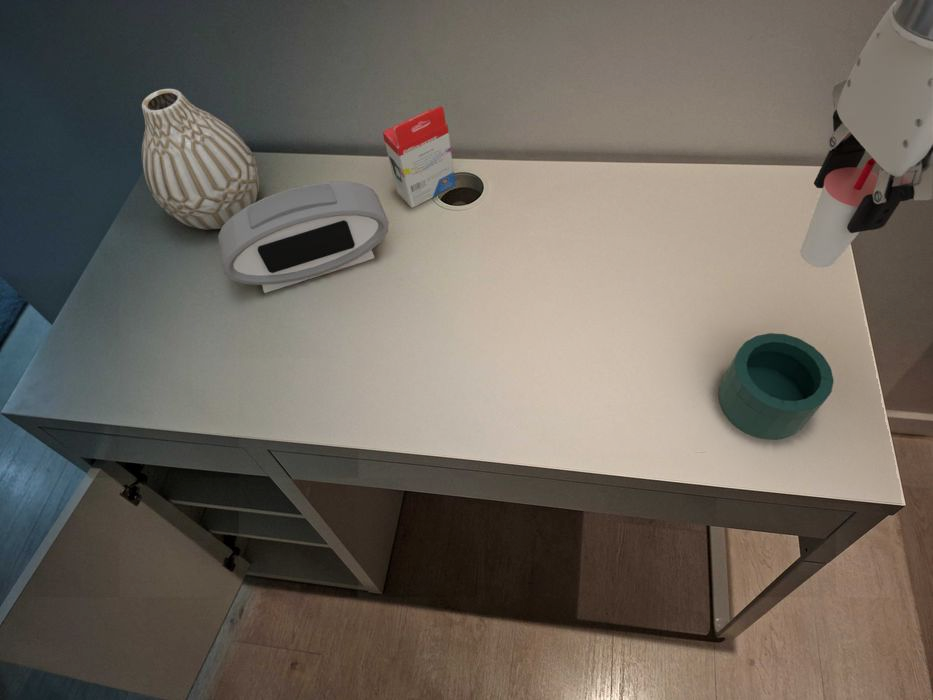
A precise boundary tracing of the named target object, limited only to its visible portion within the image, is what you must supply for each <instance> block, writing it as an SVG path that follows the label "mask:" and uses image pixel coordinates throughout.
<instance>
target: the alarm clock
mask: <svg viewBox="0 0 933 700" xmlns="http://www.w3.org/2000/svg"><path fill="white" fill-rule="evenodd" d="M388 232H389V220H388V218H387V215H386V213H385V210H384V208H383V204H382V203H381V200H380V198H379V195H378V194H377V193H376V191H375V190H374V189H373V188H371V187H369V186H367V185H366V184H363V183H359V182H353V181H326V182H318V183H311V184H310V183H309V184H306V185H301V186H297V187H293V188H289V189H285V190H282V191H279V192H277V193H274V194H271V195H269V196H266V197H264V198H262V199H259V200H256V201H255V203H253V204H251V205H249V206H247V207H246V208H244V209H243V210H241V211H240V212H238V213H237V214H235V215H234V216H232V217H231V218H230V219H229V220H228V221H227V222H226V223H225V224H224V225H223V226H222V228H220V231H219V233H218V235H217V238H218V245H219V250H220V257H221V264H222V270H223V274H224V275H225V276H226V277H228V279H230V280H231V281H233V282H237V283H240V284H244V285H256V286H262V291H263V292H264V294H266V293H270V292H273V291H276V290H280V289H282V288H285V287H286V288H287V287H288V286H292V285H295V284H299V283H301V282H304V281H308V280H310V279H314V278H318V277H320V276H323V275H326V274H330V273H333V272H336V271H340V270H343V269H346V268H348V267H353V266H356V265H358V264H361V263H364V262H368V261H371V260H374V259H375V258H376V257H375V255H374V252H373V249H374V248H375V247H376V246H378V244H380V242H382V241H383V240H384V238H385V236H386V235H387V234H388Z"/></svg>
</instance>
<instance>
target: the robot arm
mask: <svg viewBox="0 0 933 700" xmlns="http://www.w3.org/2000/svg"><path fill="white" fill-rule="evenodd" d="M832 100H833V101H832V102H833V110H834V112H833V114H832V127H833V133H831V134H830V136H829V138H828V142H827V143H828V147H829V148H830V150H829V151H828V152H827V154H826V157H825V158H824V161H823V163H822V165H821V167H820V169H819V171H818V173H817V175H816V177H815V180H814V182H813V185H814V186H815V188H816V189H823V187H824V180H825V177H826V176H827V175H828V174H829V173H830V172H831V171H833V170H836V169H841V168H846V167H855V168H858V166H859V165H860V163H861V161H862V159H863V158H864V156H865V153H866V152H867V153H868V154H869V155H870V157H871V159H872V158H873V159H874V160H875V161H876V163H877V164H878V166H879V172H878V174H877V175H878V178H877V181H876V185H875V188H874V192H873V194H869V195H866V196H865V197H864V198H863V200H862V201H861V203H860V205H859V206H858V208H857V210H856V212H855V213H854V215H853V217H852V218H851V220H850V222H849V223H848V225H847V226H848V227H847V229H848V231H849V232H850V233H856V232H859V233H862V232H866V231H875V230H879V229H882V228H884V227H885V225H887V224H888V222H889V220H890V218H891V217H892V215H893V214H894V212H895V211H896V209H897V208H898V206H899V204H900V203H901V202H906V201H907V202H908V201H914V202H915V201H919V202H920V201H923V202H925V201H933V0H895V1H894V2H893V3H892V4H891V5H890V7H889V8H888V9H887V11H886V12H885V14H884V15H883V16H882V18H881V20H879V22H878V24H877V25H876V27H875V28H874V30H873V32H872V34H871V35H870V36H869V39H868V40H867V41H866V42H865V45H864V46H863V49H862V50H861V52H860V54H859V55H858V57H857V59H856V61H855V62H854V65H853V67H852V69H851V71H850V73H849V75H848V77H847V79H845V80H843V81H841V82H839V83H837V84H835V85H833V87H832ZM895 178H901V180H900V183H899V184H898V185H894V181H895Z"/></svg>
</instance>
